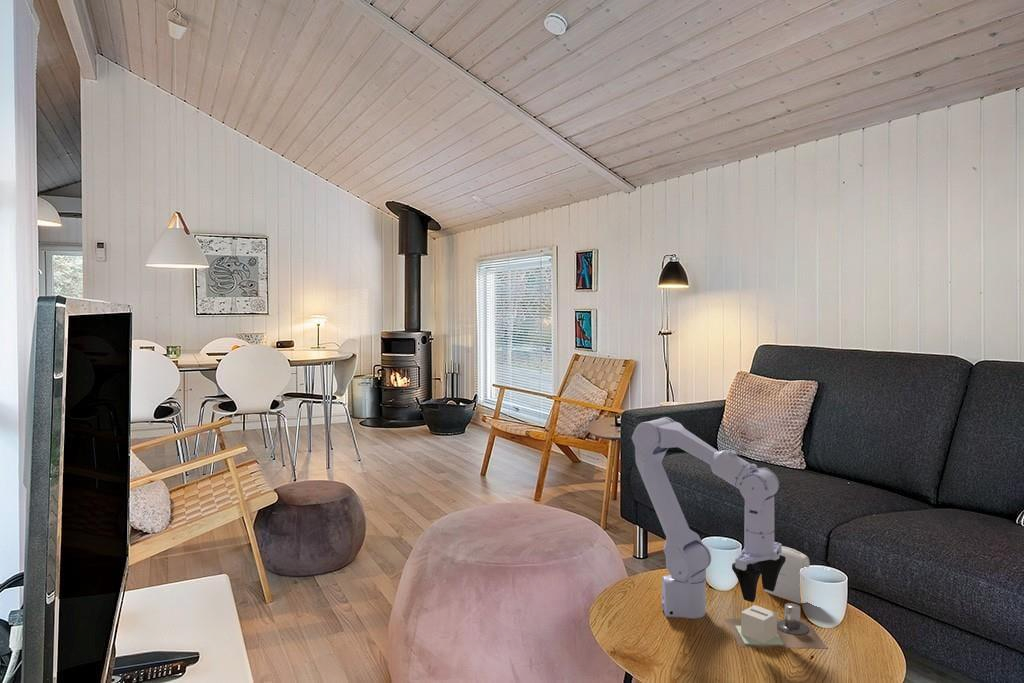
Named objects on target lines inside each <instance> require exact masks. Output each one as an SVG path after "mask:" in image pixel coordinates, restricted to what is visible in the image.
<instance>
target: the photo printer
mask: <svg viewBox="0 0 1024 683" xmlns="http://www.w3.org/2000/svg"><path fill="white" fill-rule="evenodd" d="M778 555H782V556H784V557H785V558H786V561H785V563H784V564H783V566H782V568H781V570H780V572H779V575H778V578H777V582H776V586H775V589H774V591H773V592H772V591H769V590H766V589H764V592H765V593H767V594H770V595H773V596H776V597H778V598H780V599H781V598H782V599H784V600H787V601H791V602H792V603H793V602H794V603H795V604H799V605H802V604H801V600H800V587H799V583H800V574H799V572H800V569H801V568H804V567H809V566H811V564H810V562H811V561H810V558H809V557H808V556H807V555H806V554H804V553H802V552H801V551H798V549H797V550H796V549H794V548H791V547H788V546H783V545H782V553H779V554H778Z"/></svg>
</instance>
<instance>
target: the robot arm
mask: <svg viewBox="0 0 1024 683" xmlns="http://www.w3.org/2000/svg"><path fill="white" fill-rule="evenodd" d="M631 440H632V443H633V445H634V454H635V458H634V459H635V464H636V467H637V470H638V472H639V474H640V477H641V480H642V482H643V484H644V487H645V489H646V491H647V493H648V496H649V499H650V501H651V503H652V506H653V509H654V510H655V513H656V516H657V518H658V520H659V523H660V525H661V528H662V531H663V532H664V535H665V537H666V538H665V540H664V541H665V542H664V545H663V550H662V551H663V554H664V555H665V567H666V569H667V572H668V573H669V575H668V574H667V575H663V576H662V577H661V610H662V611H663V613H664V616H665V617H667V618H685V619H700V618H703V617H704V616H706V613H707V612H706V611H707V608H706V605H707V601H706V599H707V596H706V595H707V594H706V591H707V589H706V586H707V583H706V582H707V581H706V580H707V579H706V574H707V569H708V567H709V566H710V565H711V563H712V555H711V550H710V549H709V548H708V547H707V545H705V544H704V542H703V541H702V539H701V537H700V535H699V534H698V533H697V532H695V531H693V530H692V529H691V528H690V527H689V525H688V521H687V519H686V518H685V514H684V513H683V510H682V508H681V505H680V503H679V501H678V499H677V495H676V494H675V491H674V489H673V486H672V484H671V482H670V480H669V477H668V475H667V473H666V470H665V468H664V465H663V460H664V457H665V456H666V453H667V451H668V450H669V449H670V448H678V449H681V450H683V451H684V452H686V453H688V454H690V455H692V456H693V457H695V458H697V459H699V460H701V461H703V462H704V463H706V464H708V465H709V466H710V469H711V472H712V474H714V475H715V476H717V477H719V478H721V479H722V480H723V481H725V482H727V483H728V484H730V485H732V486H733V487H735V488H736V489H738V490H739V493H740V495H741V496H742V497H743V500H744V535H743V536H744V540H743V541H744V543H743V544H744V545H743V546H744V548H743V549H742V551H741V552H740V553H739V555H738V556H737V557H735V560H734V562H733V563H732V564H731V570H732V571H733V572H734V574H735V576H736V579H737V581H738V583H739V586H740V590H741V595H742V599H743V600H745V601H747V602H750V603H754V602H755V601H756V598H757V588H758V582H759V580H760V576H761V584H762V588H763V590H765V589H766V590H769V591H772V592H773V591H774V589H775V586H776V582H777V578H778V575H779V572H780V570H781V568H782V566H783V564H784V563H785V561H786V558H785V557H784V556H782V555H778V554H779V553H782V546H783V544H782V543H780V542H778V541H775V496H774V495H775V494H776V493H778V490H779V488H780V481H779V479H778V477H777V475H776V474H775V472H774V471H772V470H771V469H769V468H768V467H758V465H757V464H755V463H750V462H748V461H746V460H745V459H744V458H742V457H739V456H738V453H737V452H736V451H735V450H733V449H732V450H728V449H723V450H720V451H719V450H717V448H714V447H713V446H711V445H710V444H708V443H707V442H705V441H704V440H702V439H701V438H699V436H696V435H695V434H694V433H692V432H691V431H689V430H688V429H686V428H685V427H684V426H683V425H682V423H680V422H678V421H675V420H674V419H672V418H670V417H668V416H663V417H660V418H658V419H653V420H649V421H643V422H640V423H638V424H637V426H636V427H635V428H634V431H633V432H632V436H631ZM756 563H759V568H760V570H759V569H756V568H755V567H754V566H753V565H754V564H756ZM671 612H672V613H671Z"/></svg>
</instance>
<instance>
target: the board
mask: <svg viewBox="0 0 1024 683" xmlns="http://www.w3.org/2000/svg"><path fill="white" fill-rule="evenodd" d="M780 620H781V619H777V622H778V621H780ZM724 621H725V622H726V623H727V626H728V628H729V630H730V631H731V633H732V635H733V637H734V640H735V641H736V643H737V645H738V647H740V648H770V649H771V648H778V649H780V648H781V649H782V648H783V649H785V648H786V649H822V650H823V649H824V650H825V649H826V650H827V649H829V648H828V646H827V645H826V644H825V642H824V641H823V639H822V638H821V637H820V636H819V635H818V633H817V632H816V631H815V629H814V628H813V627H812V626H811V624H810V623H809V622H808V621H807V620H806V619H800V622H802V623H804V624H806V625H807V626H808V627H809V632H808V633H807V634H803V635H793V634H788V633H785V632H783V631H781V630H779V629H778V628H777V635H778V636H779V638H780V639H781V641H782V642H783V644H784V646H776V645H745V644H744V642H743V640H742V639H741V637H740V635H739V633H738V631H737V629H736V627H735V626H741V618H724Z"/></svg>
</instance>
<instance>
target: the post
mask: <svg viewBox="0 0 1024 683" xmlns="http://www.w3.org/2000/svg"><path fill="white" fill-rule="evenodd" d="M779 620H780V621H778V622H777V628H778V629H779V630H781V631H783V632H785V633H788V634H793V635H803V634H807V633H808V632H809V627H808V626H807V625H806V624H804V623H802V622H800V620H801V606H800V604H799V605H798V603H793V602H788V603H785V604H784V619H779Z"/></svg>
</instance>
